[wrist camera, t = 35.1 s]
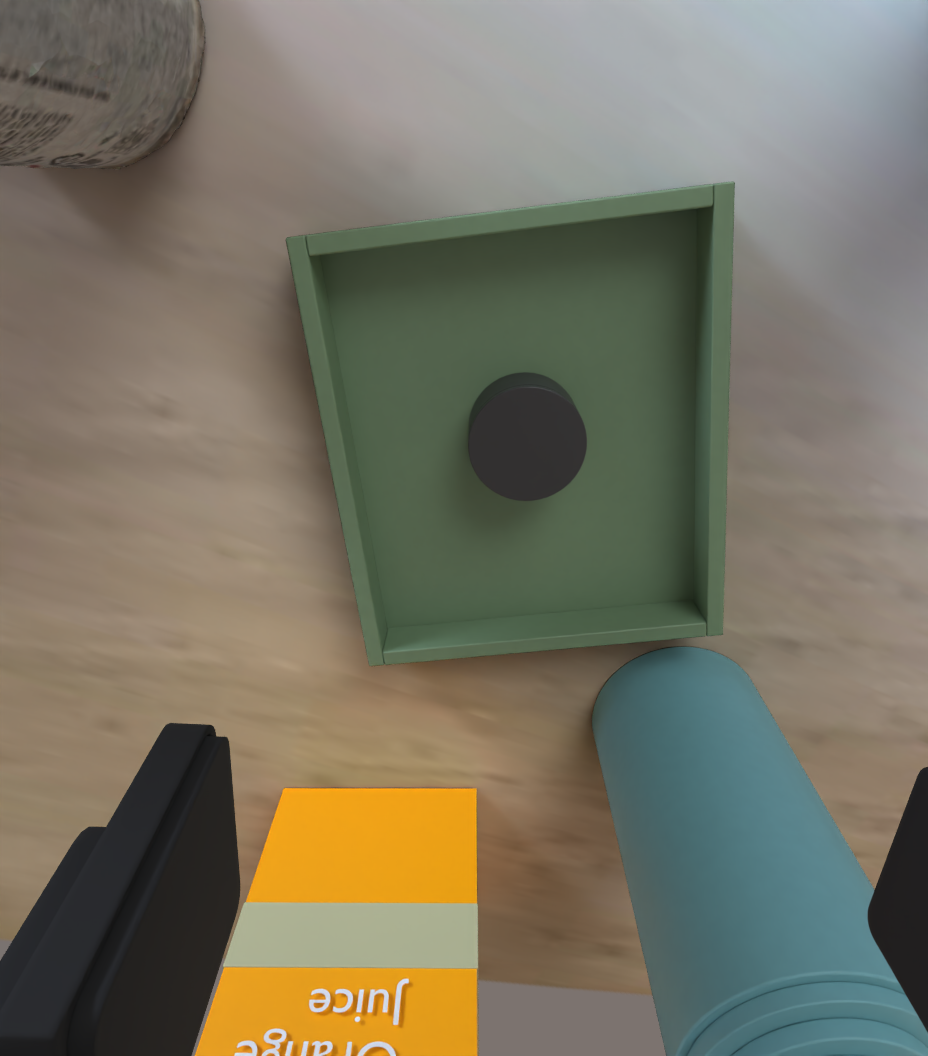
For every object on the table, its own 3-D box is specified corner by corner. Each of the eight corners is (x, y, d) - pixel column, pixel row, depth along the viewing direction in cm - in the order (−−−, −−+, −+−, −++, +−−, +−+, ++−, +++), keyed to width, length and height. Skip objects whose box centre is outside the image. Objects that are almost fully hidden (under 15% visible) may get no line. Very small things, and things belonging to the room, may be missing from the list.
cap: (580, 473, 27) (589, 495, 24) (474, 483, 27) (474, 506, 25) (575, 366, 25) (584, 380, 23) (462, 378, 25) (461, 393, 23)
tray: (376, 635, 30) (368, 667, 28) (301, 235, 24) (284, 237, 22) (705, 604, 29) (723, 635, 27) (711, 183, 23) (735, 180, 21)
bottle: (595, 786, 33) (730, 1437, 15) (588, 653, 30) (742, 1261, 13) (754, 774, 32) (1079, 1428, 15) (761, 638, 30) (1168, 1244, 12)
